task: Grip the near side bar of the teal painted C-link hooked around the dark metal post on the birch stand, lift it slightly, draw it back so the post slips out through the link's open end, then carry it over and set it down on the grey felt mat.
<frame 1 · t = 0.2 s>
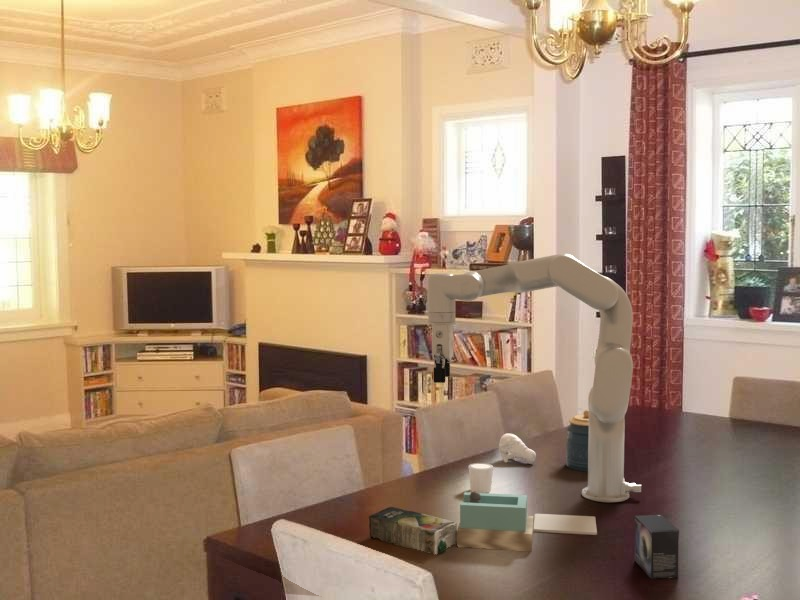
hand: (441, 379, 253), 31 cm above the table, tool pointing down, fingers open, 9 cm apart
shot glass: (480, 491, 254), on the table
stand: (496, 539, 214), on the table
c link: (498, 523, 214), point 4 cm above the table, touching stand
mat: (564, 525, 224), on the table
small box: (655, 570, 195), on the table
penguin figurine: (518, 462, 284), on the table
canister: (587, 467, 278), on the table
juice carton: (413, 543, 214), on the table
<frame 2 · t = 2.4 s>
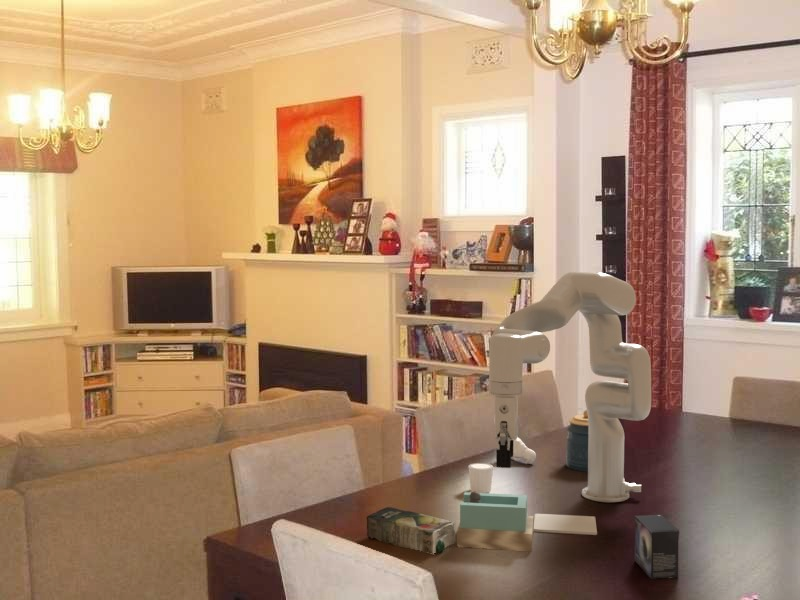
hand: (505, 461, 209), 20 cm above the table, tool pointing down, fingers open, 9 cm apart
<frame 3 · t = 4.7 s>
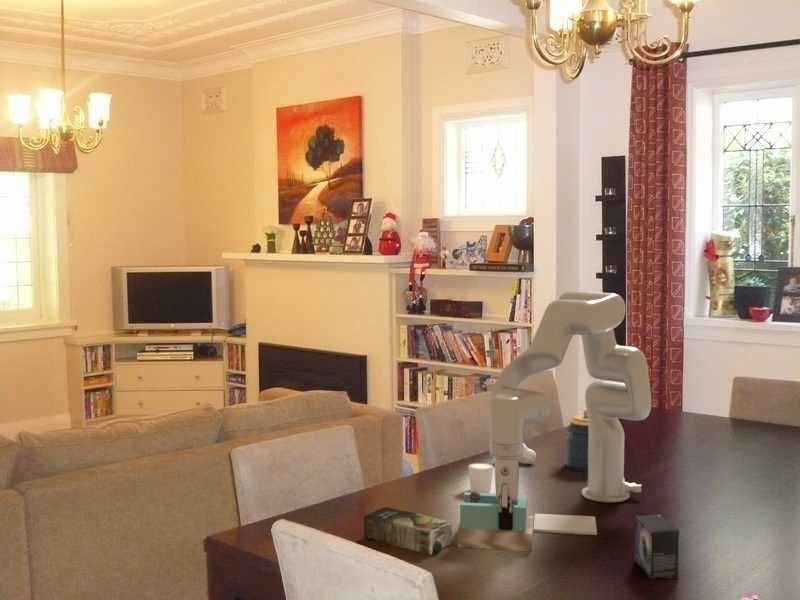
hand: (505, 526, 209), 5 cm above the table, tool pointing down, fingers closed on c link
c link: (498, 523, 214), point 4 cm above the table, touching gripper, stand
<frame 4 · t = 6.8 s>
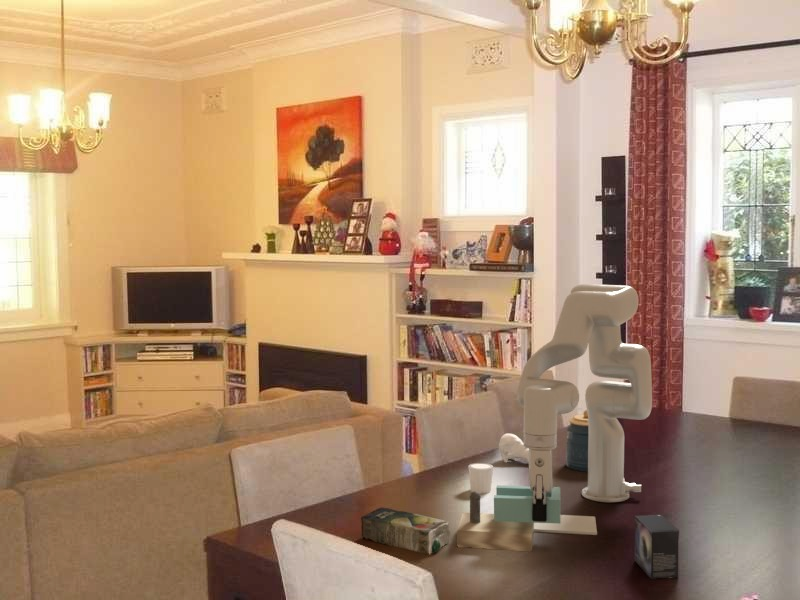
hand: (539, 518, 208), 7 cm above the table, tool pointing down, fingers closed on c link
c link: (532, 515, 212), point 6 cm above the table, touching gripper
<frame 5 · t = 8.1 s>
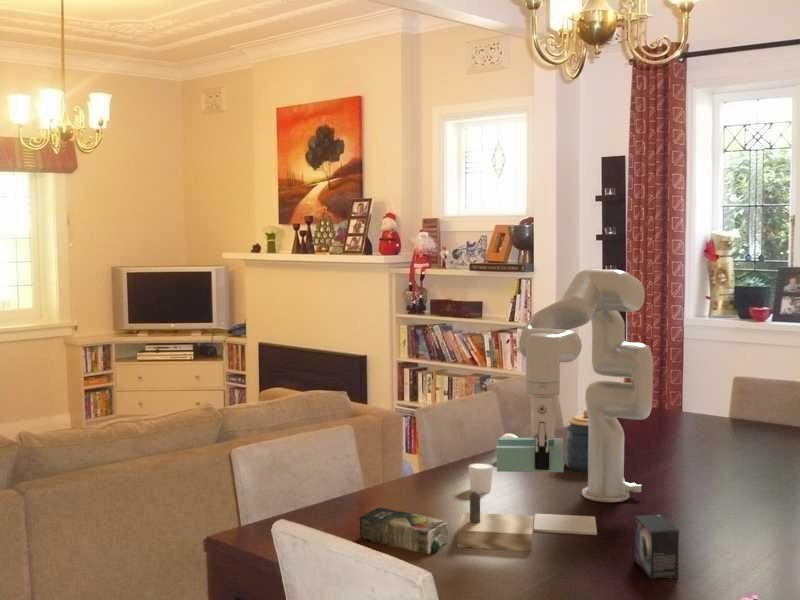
hand: (542, 467, 207), 19 cm above the table, tool pointing down, fingers closed on c link
c link: (535, 466, 211), point 18 cm above the table, touching gripper
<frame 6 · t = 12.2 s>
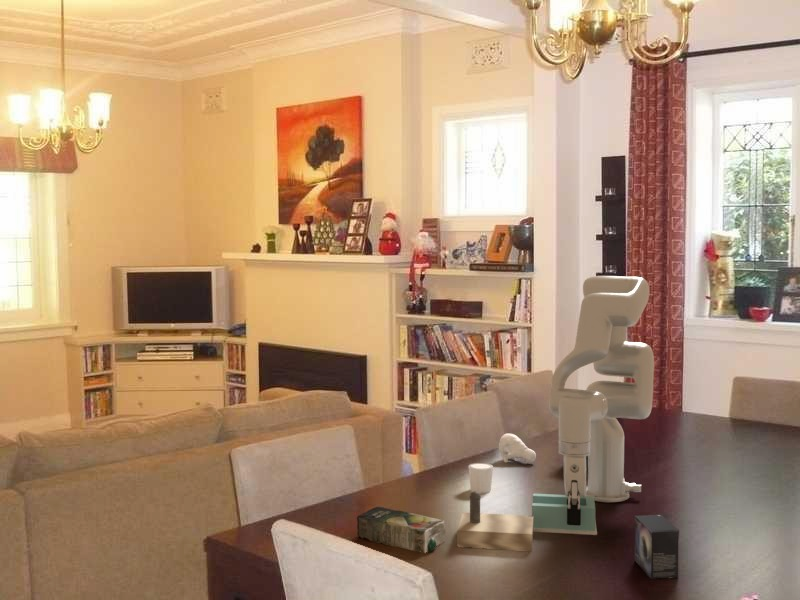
hand: (573, 519, 220), 3 cm above the table, tool pointing down, fingers open, 6 cm apart
c link: (567, 522, 224), point 1 cm above the table, touching mat
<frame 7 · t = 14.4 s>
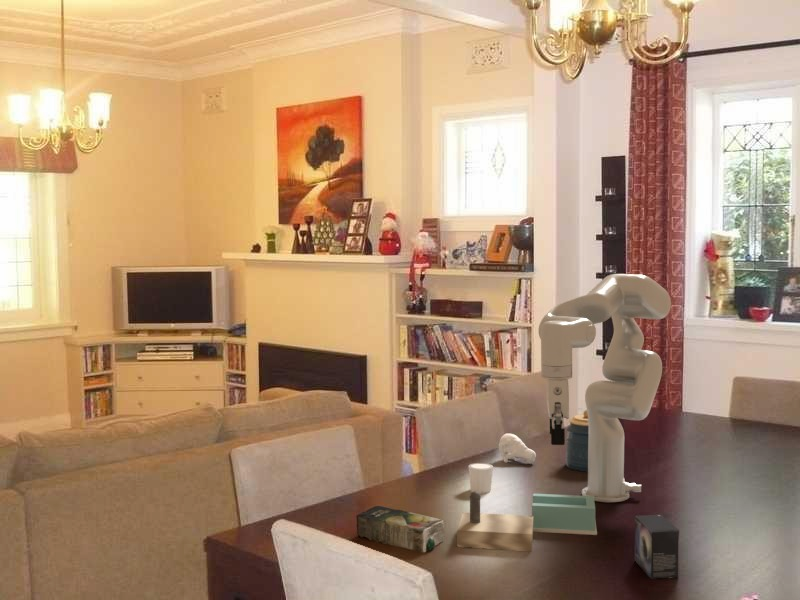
hand: (557, 439, 225), 21 cm above the table, tool pointing down, fingers open, 9 cm apart
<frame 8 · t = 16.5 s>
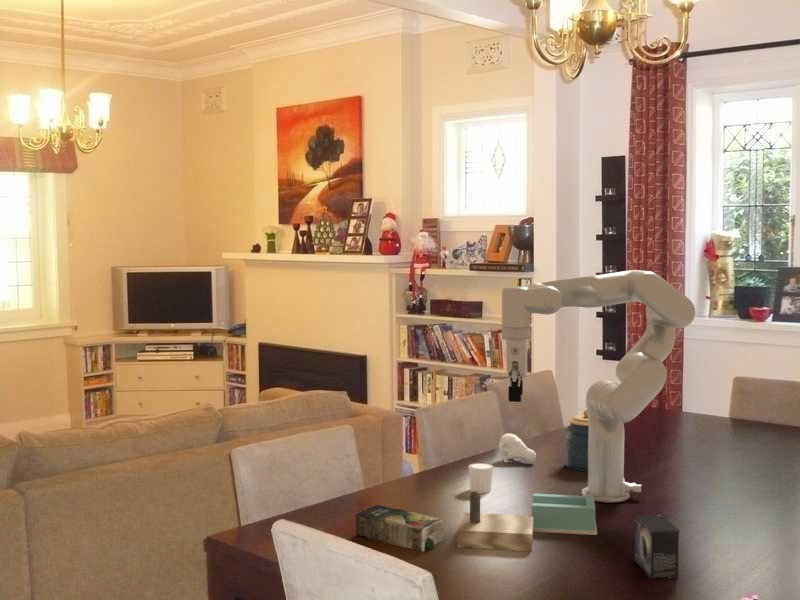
hand: (515, 398, 240), 28 cm above the table, tool pointing down, fingers open, 9 cm apart
at the end: c link inside the target area on the mat (0.6 cm from its centre), point 0.6 cm above the mat's base; c link tilted 0°; c link touching mat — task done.
